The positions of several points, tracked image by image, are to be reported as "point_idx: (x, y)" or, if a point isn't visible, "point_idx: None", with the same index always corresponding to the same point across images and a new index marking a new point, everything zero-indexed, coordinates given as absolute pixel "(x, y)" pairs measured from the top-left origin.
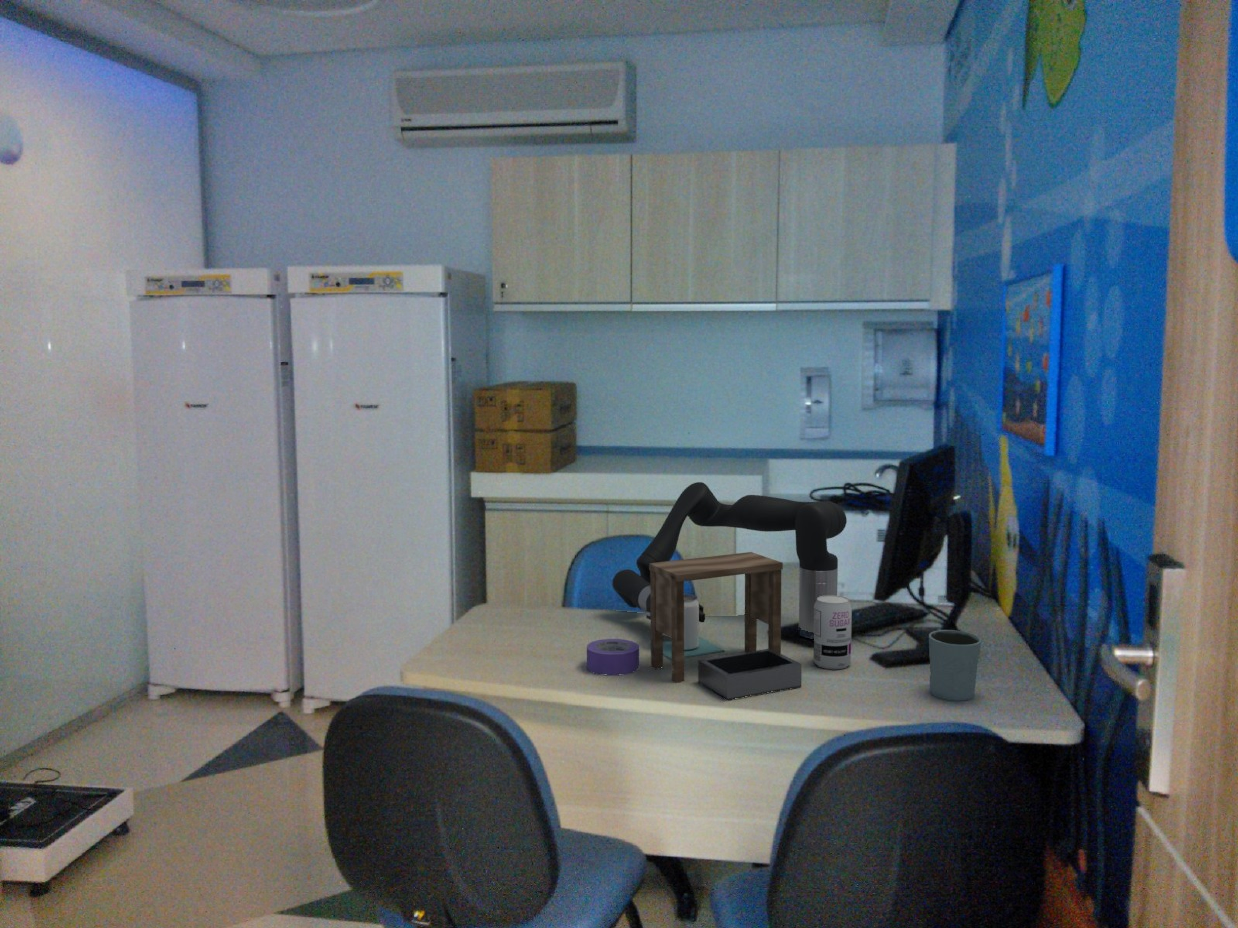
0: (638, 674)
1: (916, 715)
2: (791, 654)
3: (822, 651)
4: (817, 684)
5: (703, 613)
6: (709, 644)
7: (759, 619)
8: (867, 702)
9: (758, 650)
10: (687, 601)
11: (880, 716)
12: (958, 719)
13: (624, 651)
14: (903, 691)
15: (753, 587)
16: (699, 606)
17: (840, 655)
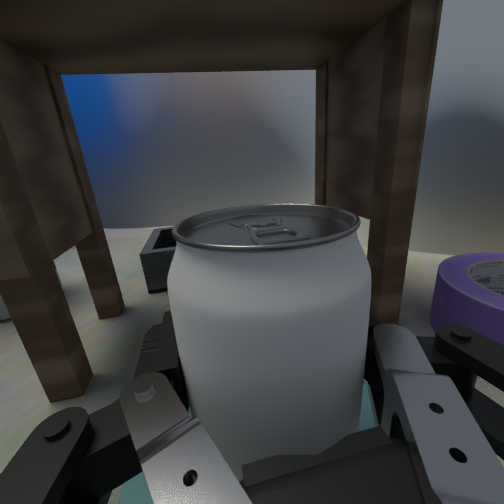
0: (414, 298)
1: (124, 232)
2: (3, 355)
3: (53, 263)
4: (133, 262)
5: (167, 311)
6: (141, 497)
7: (73, 243)
8: (133, 241)
9: (167, 250)
10: (266, 211)
11: (152, 231)
12: (105, 229)
13: (467, 259)
14: (73, 251)
15: (19, 144)
16: (48, 455)
17: None
